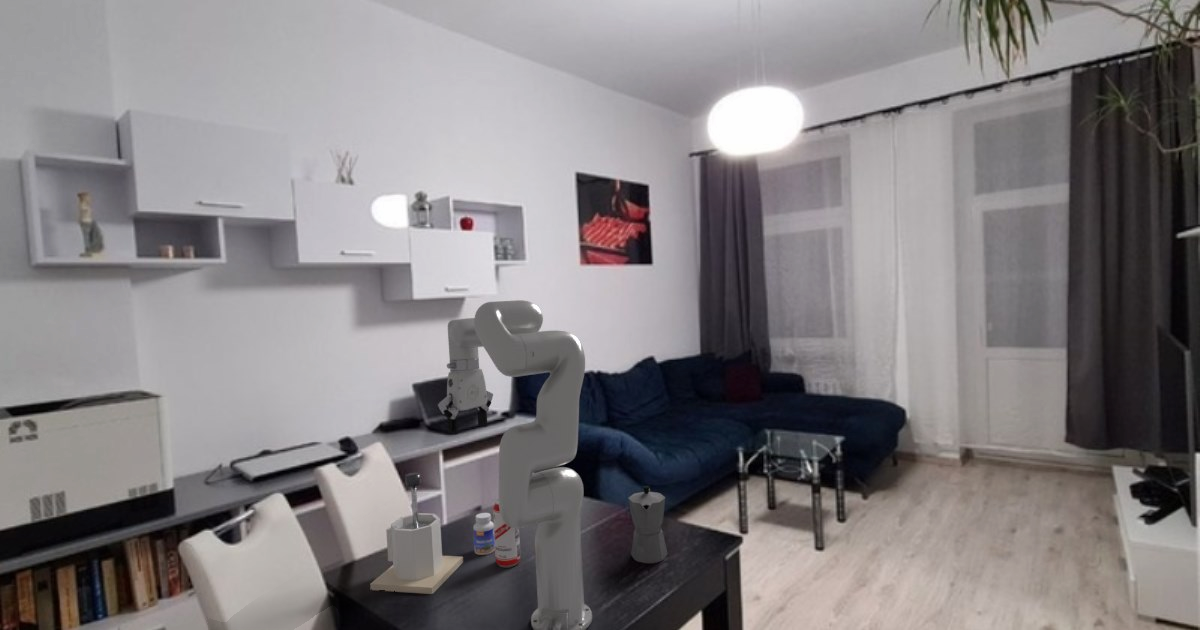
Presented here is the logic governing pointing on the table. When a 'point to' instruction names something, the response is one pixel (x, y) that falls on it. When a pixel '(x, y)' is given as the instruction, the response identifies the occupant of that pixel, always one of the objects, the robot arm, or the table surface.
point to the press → (416, 557)
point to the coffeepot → (648, 526)
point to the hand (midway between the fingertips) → (468, 429)
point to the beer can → (505, 541)
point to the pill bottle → (484, 534)
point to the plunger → (414, 500)
